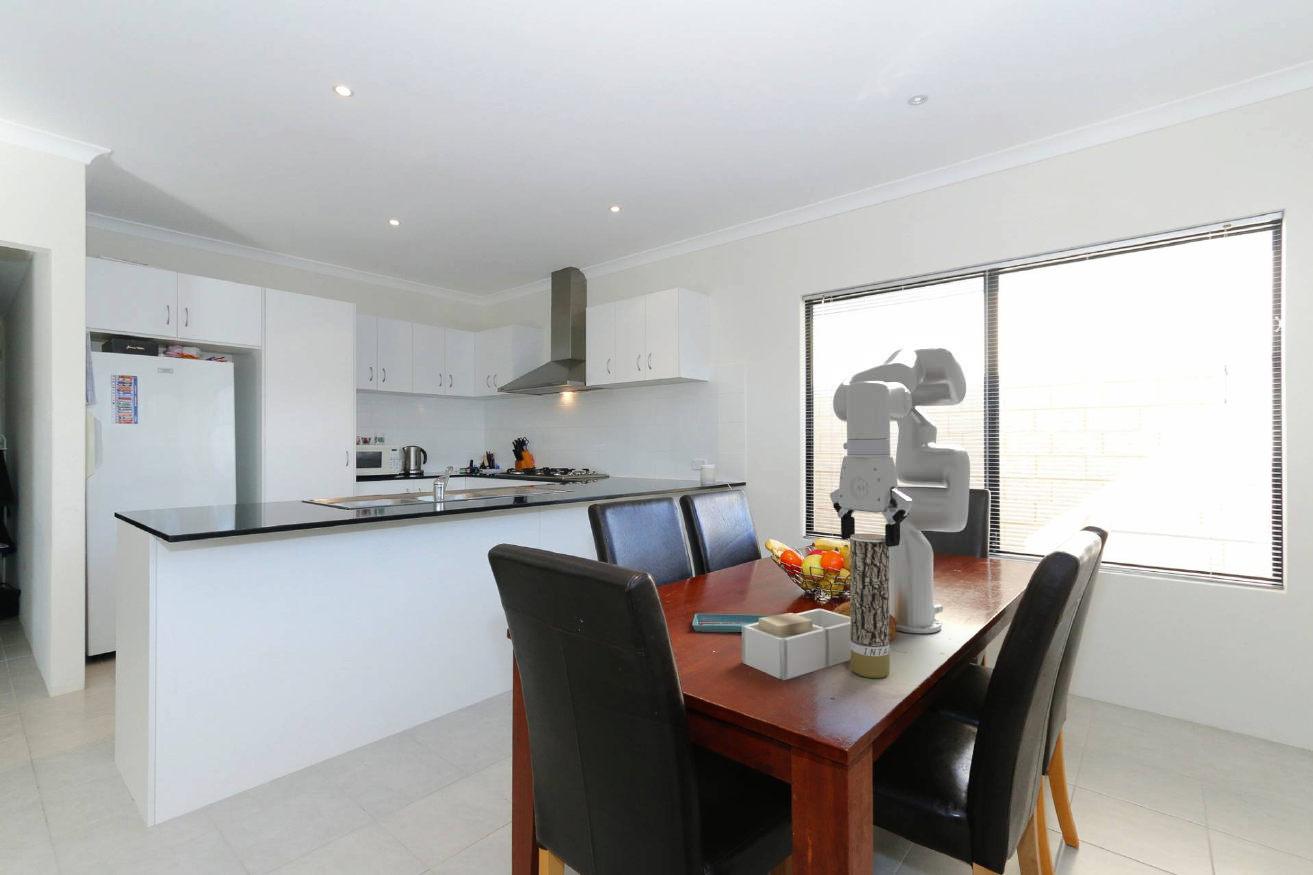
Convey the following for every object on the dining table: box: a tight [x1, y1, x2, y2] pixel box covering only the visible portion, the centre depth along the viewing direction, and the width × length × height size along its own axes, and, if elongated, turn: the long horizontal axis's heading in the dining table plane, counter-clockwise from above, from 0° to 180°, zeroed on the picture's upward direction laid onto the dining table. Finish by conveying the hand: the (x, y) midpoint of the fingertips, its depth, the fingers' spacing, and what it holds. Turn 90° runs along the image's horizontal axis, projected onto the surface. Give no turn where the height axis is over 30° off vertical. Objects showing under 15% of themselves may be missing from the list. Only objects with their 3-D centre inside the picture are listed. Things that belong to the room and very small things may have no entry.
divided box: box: [741, 608, 851, 681], centre depth 122 cm, size 22×11×7 cm, turn 124°
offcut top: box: [759, 612, 812, 638], centre depth 119 cm, size 8×6×3 cm
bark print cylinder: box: [849, 533, 891, 679], centre depth 115 cm, size 7×7×25 cm
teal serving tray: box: [691, 613, 776, 633], centre depth 143 cm, size 26×9×2 cm, turn 82°
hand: (869, 542), depth 115 cm, fingers open, 9 cm apart
